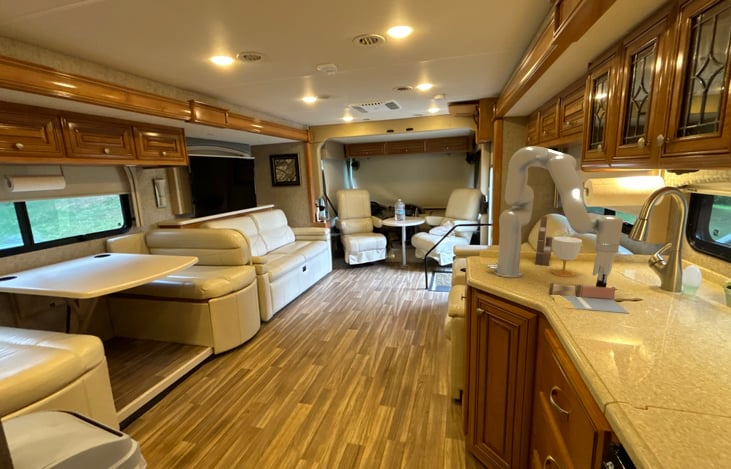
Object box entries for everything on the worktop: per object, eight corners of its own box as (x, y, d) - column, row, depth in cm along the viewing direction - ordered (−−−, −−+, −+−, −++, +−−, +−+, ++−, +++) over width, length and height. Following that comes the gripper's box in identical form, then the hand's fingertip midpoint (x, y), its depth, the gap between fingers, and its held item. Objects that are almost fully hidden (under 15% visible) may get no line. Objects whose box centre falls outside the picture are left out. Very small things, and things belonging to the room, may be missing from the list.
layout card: (559, 307, 121) (559, 306, 121) (548, 293, 134) (548, 292, 134) (628, 313, 116) (629, 312, 116) (610, 298, 129) (610, 297, 129)
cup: (562, 269, 166) (565, 235, 162) (583, 276, 155) (588, 240, 151) (543, 271, 162) (547, 237, 159) (564, 279, 151) (569, 242, 148)
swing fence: (581, 296, 130) (583, 285, 129) (580, 295, 131) (581, 284, 130) (614, 298, 127) (616, 288, 126) (613, 297, 128) (614, 287, 127)
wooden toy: (549, 266, 170) (554, 218, 165) (535, 264, 174) (539, 217, 169) (550, 259, 183) (555, 214, 178) (537, 257, 187) (541, 213, 182)
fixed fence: (549, 294, 132) (550, 283, 131) (548, 293, 134) (549, 282, 133) (580, 297, 130) (581, 286, 129) (578, 295, 131) (580, 284, 130)
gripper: (598, 242, 136) (592, 284, 140) (591, 249, 125) (585, 294, 129) (621, 245, 131) (614, 289, 135) (615, 252, 120) (608, 299, 124)
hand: (600, 291), depth 132 cm, fingers closed
